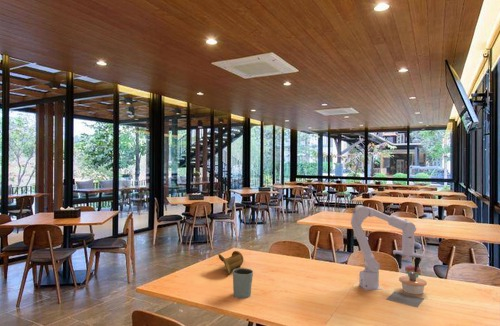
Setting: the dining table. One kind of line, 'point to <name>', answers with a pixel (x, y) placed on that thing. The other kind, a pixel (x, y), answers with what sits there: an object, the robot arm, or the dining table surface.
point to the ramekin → (412, 289)
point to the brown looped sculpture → (232, 261)
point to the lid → (412, 280)
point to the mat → (405, 299)
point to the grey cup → (242, 282)
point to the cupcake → (412, 269)
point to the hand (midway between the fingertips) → (407, 270)
